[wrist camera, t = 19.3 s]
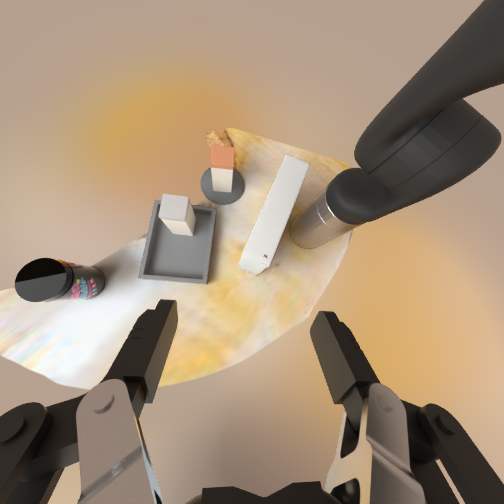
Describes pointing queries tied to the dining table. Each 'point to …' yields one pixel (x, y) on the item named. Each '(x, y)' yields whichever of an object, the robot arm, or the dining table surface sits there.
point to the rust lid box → (222, 167)
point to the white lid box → (177, 214)
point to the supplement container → (58, 281)
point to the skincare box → (273, 216)
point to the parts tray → (179, 249)
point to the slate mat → (222, 196)
